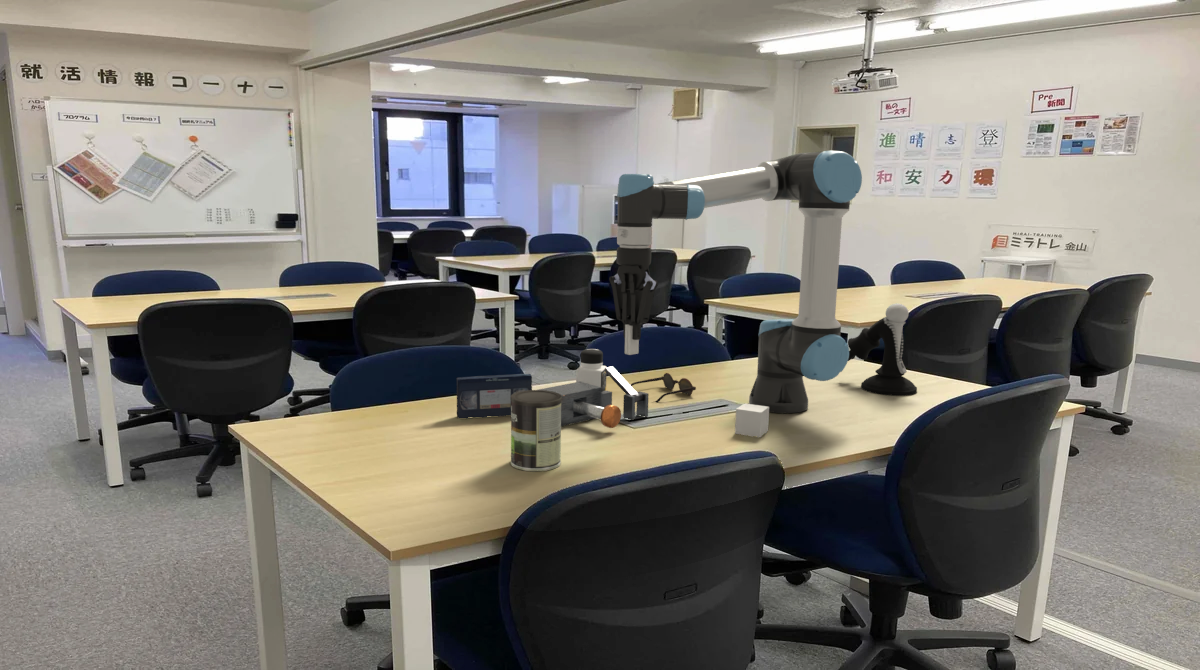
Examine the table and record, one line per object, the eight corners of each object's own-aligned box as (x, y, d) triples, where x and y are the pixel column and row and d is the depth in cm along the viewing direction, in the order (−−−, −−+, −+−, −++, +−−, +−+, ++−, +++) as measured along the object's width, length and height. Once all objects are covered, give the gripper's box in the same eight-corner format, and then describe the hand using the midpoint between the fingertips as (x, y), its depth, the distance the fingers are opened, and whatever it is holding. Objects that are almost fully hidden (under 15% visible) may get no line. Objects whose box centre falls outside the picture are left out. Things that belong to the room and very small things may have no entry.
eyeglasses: (695, 398, 223) (696, 380, 222) (652, 405, 215) (653, 387, 214) (662, 387, 235) (662, 370, 234) (620, 393, 227) (620, 376, 226)
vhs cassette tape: (457, 419, 197) (457, 379, 196) (456, 416, 200) (455, 376, 198) (532, 415, 202) (532, 375, 200) (530, 412, 205) (530, 373, 203)
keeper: (641, 402, 201) (644, 396, 200) (632, 404, 199) (635, 398, 198) (611, 370, 208) (614, 364, 207) (602, 372, 205) (605, 366, 204)
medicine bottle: (601, 396, 221) (602, 353, 219) (575, 395, 223) (576, 351, 221) (606, 390, 228) (607, 348, 226) (581, 389, 230) (581, 347, 228)
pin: (620, 425, 190) (621, 404, 189) (604, 430, 186) (605, 407, 185) (582, 414, 199) (582, 393, 198) (566, 417, 196) (566, 396, 195)
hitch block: (601, 417, 201) (601, 387, 200) (557, 427, 192) (557, 396, 190) (579, 410, 207) (579, 381, 205) (536, 420, 197) (536, 389, 196)
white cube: (760, 438, 186) (761, 412, 185) (734, 434, 189) (735, 408, 188) (767, 431, 191) (769, 406, 190) (743, 427, 194) (744, 403, 193)
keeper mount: (647, 417, 202) (648, 393, 200) (631, 421, 198) (632, 397, 197) (610, 406, 211) (610, 383, 210) (594, 410, 207) (594, 386, 206)
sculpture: (901, 398, 225) (909, 308, 220) (824, 383, 241) (830, 299, 237) (925, 389, 235) (933, 303, 231) (850, 376, 252) (855, 295, 248)
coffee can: (509, 472, 160) (509, 402, 158) (511, 455, 170) (510, 389, 168) (562, 471, 161) (563, 402, 159) (560, 455, 171) (561, 389, 169)
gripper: (600, 245, 179) (598, 351, 183) (644, 248, 170) (641, 360, 174) (624, 244, 184) (622, 347, 188) (668, 247, 175) (665, 356, 179)
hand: (631, 353), depth 181 cm, fingers closed
